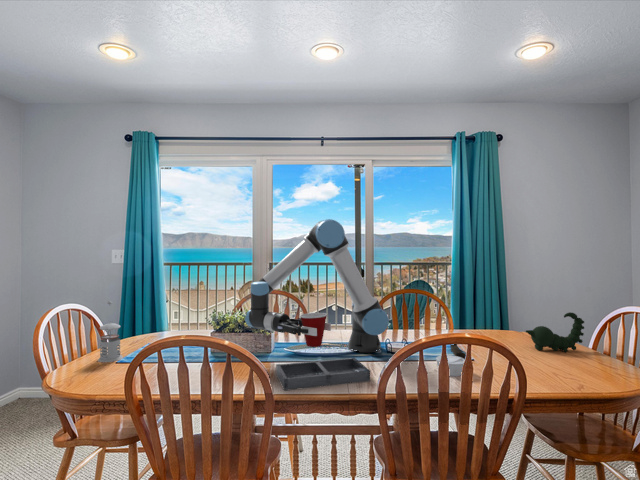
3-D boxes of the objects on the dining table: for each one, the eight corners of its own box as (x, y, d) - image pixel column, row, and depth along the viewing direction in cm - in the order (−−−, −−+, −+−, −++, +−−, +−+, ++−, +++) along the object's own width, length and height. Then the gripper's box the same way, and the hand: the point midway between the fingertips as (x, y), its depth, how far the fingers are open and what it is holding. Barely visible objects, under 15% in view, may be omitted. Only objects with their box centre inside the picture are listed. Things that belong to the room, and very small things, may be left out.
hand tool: (465, 362, 174) (465, 351, 174) (455, 361, 175) (455, 350, 175) (457, 349, 193) (458, 339, 193) (449, 349, 194) (449, 339, 194)
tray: (354, 367, 167) (354, 357, 167) (370, 381, 151) (370, 370, 151) (276, 374, 158) (276, 364, 158) (284, 390, 143) (284, 379, 143)
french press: (100, 363, 171) (100, 303, 171) (93, 357, 180) (93, 300, 179) (126, 359, 178) (125, 301, 177) (118, 353, 186) (117, 297, 186)
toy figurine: (573, 351, 195) (519, 345, 196) (577, 311, 194) (523, 306, 196) (585, 357, 185) (528, 351, 187) (589, 315, 185) (532, 310, 186)
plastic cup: (314, 339, 165) (314, 309, 165) (333, 345, 157) (333, 313, 157) (293, 344, 158) (293, 313, 157) (312, 350, 150) (312, 317, 150)
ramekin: (466, 379, 154) (466, 364, 154) (435, 376, 157) (435, 362, 157) (465, 369, 165) (465, 356, 165) (436, 366, 168) (436, 353, 168)
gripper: (294, 326, 177) (338, 333, 164) (259, 337, 159) (306, 346, 146) (293, 308, 176) (338, 314, 164) (259, 317, 159) (306, 325, 146)
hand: (323, 329), depth 155 cm, fingers closed on plastic cup, 9 cm apart
